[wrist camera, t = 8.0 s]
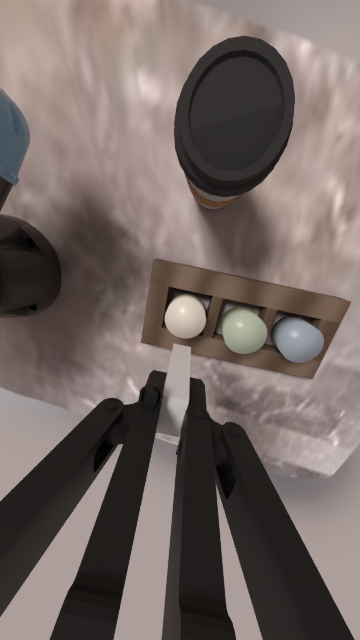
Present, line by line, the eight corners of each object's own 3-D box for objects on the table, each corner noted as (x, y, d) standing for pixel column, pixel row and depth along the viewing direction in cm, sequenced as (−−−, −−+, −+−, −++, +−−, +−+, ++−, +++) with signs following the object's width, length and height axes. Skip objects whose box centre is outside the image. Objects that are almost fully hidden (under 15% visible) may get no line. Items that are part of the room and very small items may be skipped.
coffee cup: (249, 210, 28) (305, 173, 14) (189, 223, 29) (184, 202, 15) (243, 135, 26) (303, -1, 11) (177, 154, 27) (157, 49, 13)
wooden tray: (144, 336, 36) (140, 342, 33) (156, 258, 31) (153, 259, 29) (304, 370, 36) (312, 379, 33) (339, 297, 31) (351, 301, 29)
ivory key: (165, 323, 33) (161, 333, 29) (172, 289, 31) (168, 295, 27) (199, 331, 33) (200, 342, 29) (208, 297, 31) (210, 304, 27)
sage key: (216, 337, 32) (219, 349, 28) (226, 302, 30) (230, 310, 26) (251, 344, 32) (259, 357, 28) (263, 310, 30) (273, 320, 26)
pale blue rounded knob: (265, 345, 33) (274, 358, 29) (278, 312, 31) (289, 321, 27) (299, 352, 33) (313, 366, 29) (314, 320, 31) (331, 330, 27)
